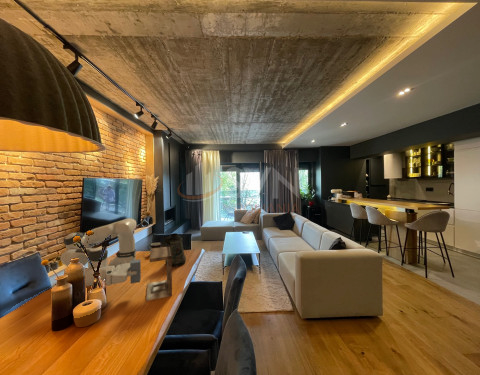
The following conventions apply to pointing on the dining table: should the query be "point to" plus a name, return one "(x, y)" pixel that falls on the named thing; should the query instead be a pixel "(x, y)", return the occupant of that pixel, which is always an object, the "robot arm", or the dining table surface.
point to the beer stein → (175, 249)
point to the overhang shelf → (164, 287)
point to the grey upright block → (134, 266)
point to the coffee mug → (155, 245)
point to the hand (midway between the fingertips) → (137, 270)
